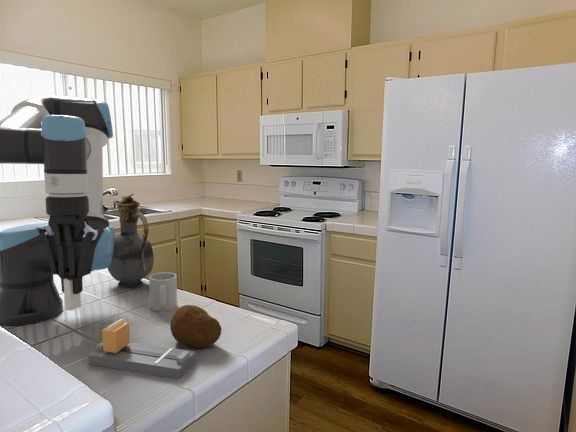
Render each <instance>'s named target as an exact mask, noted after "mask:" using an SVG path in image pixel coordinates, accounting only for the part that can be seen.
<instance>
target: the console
mask: <svg viewBox="0 0 576 432" xmlns="http://www.w3.org/2000/svg"><path fill="white" fill-rule="evenodd" d="M95 348H96V349H94V350H92V351H91V352H89V353H88V354H87V362H88V363H87V364H88V365H92V366H98V367H102V368H111V369H117V370H122V371H129V372H135V373H140V374H147V375H153V376H159V377H164V378H165V377H166V378H170V379H176V380H177V379H178V380H179V379H180V378H182V376H183V375H184V374H186V372H187V371H188V370H189V369H190V368H191V367H192V365H193V364H194V363H195V362H196V360H197V352H196V351H195V350H188V349H180V348H173V347H167V346H160V345H152V344H146V343H141V342H140V343H139V342H133V341H130V343H129V344H128V345H126V346H125V347H124V348H122V349H121V350H120V351H118V352H117V353H113V352H106V351H103V341H101V342H100V343H98V344H97V345H96V347H95Z"/></svg>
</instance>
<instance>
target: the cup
mask: <svg viewBox="0 0 576 432" xmlns="http://www.w3.org/2000/svg"><path fill="white" fill-rule="evenodd" d="M148 279H149V280H148V283H149V288H148V289H149V308H150V310H152V311H153V310H154V312H159V311H163V312H167V311H172V310H174V309H175V308H176V307H177V305H178V293H177V291H178V285H177V284H178V282H177V281H178V278H177V274H176V273H174V272H157V273H153V274H150V275H149V277H148ZM171 309H172V310H171Z"/></svg>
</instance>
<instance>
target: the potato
mask: <svg viewBox="0 0 576 432" xmlns="http://www.w3.org/2000/svg"><path fill="white" fill-rule="evenodd" d="M169 322H170V333H171V335H172V337H173V338H174V340H175V341H176V342H177V343H178V344H181V345H184V346H187V347H189V348H194V349H204V348H208V347H210V346H212V345H214V344H215V343H216V342H217V341H218V340H219V339H220V337H221V335H222V326H221V324H220V321H219V320H217V318H214V317H213V316H211V315H210V314H209V313H208V312H207V311H206V310H205V309H204V308H202V307H199V306H198V305H192V304H185V305H182V306H180V307H179V308H177V309H176V310H175V312H174V313H173V315H172V316H171V320H170V321H169Z"/></svg>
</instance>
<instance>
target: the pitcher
mask: <svg viewBox="0 0 576 432" xmlns="http://www.w3.org/2000/svg"><path fill="white" fill-rule="evenodd" d="M134 195H135V193H131V194H129V195H126V196H125V195H124V196H121V197H120V199H121V200H114V205H115V206H117V208H118V213H119V223H120V224H119V226H120V234H119V235H118V234H117V236H115V238H114V250H113V256H112V261H111V264H110V266H109V267H108V268H107V270H108V271H107V272H109V274H110V277H112V278H113V279H114V280H115V281H116V282H118V283H117V285H118V287H119V288H121V289H136V288H139V287H141V286H143V283H144V282H143V279H144V278H146V277H148V275H149V274H151V273H152V271H153V268H154V259H155V258H154V249H153V247H152V244H151V242H150V241H149V240H148V236H149V223H148V220H147V218H146V216H145V215H144V213H142V212H139V206H140V204H141V203H140V202H138V201H137V200H134V198H133V196H134ZM139 219H140V221H141V222H142V225H143V235H142V234H140V233H138V221H139Z"/></svg>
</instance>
